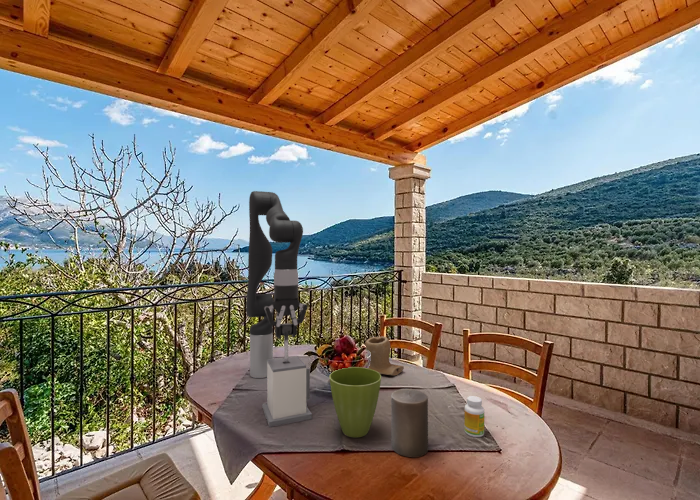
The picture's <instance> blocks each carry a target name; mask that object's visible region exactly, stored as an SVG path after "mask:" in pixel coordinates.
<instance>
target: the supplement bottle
mask: <svg viewBox="0 0 700 500" xmlns="http://www.w3.org/2000/svg"><path fill="white" fill-rule="evenodd" d="M463 411H464V412H463V413H464V418H463V421H464V422H463V423H464V425H463V426H464V432H465V434H466V435H468V436H470V437H474V438H481V437H483V436H484V435H485V408H484V407H483V401H482V398H481V397H479V396H476V395H469V396H467V398H466V404H465V405H464V410H463Z"/></svg>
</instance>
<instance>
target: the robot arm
mask: <svg viewBox="0 0 700 500" xmlns="http://www.w3.org/2000/svg"><path fill="white" fill-rule="evenodd" d="M248 206H249V207H248V208H249V209H248V211H249V212H248V215H249V242H248V259H247V260H248V262H247V263H248V267H247V268H248V270H247V271H248V277H247V278H248V279H247V290H246V291H247V292H246V301H245V312H246V315H247V317H249V318H261V317H263V319H261V321H259V322H256V323H255V324H252V325H251V326H250V328H249V376H250V377H251V378H254V379H255V378H256V379H262V378H263V379H264V378H267V360H269V359H274V335H275V337H276V338H277V339H278V340H280V339H281V338H282V335H281V327H280V324H282V320H283V317H285V316H289V317H290V319H291V324H293V334H292V335H291V337H292V338H295V337H296V336H297V335H298V325H300V324H302V323H304V319H305V316H306V313H307V310H308V304H306V303H301V302H300V300H299V273H298V255H299V250H300V246H301V242H302V239H303V238H302V237H303V234H304V228H303V225H302V223H301V222H300V221H298V220H291V219H290V217H289V216H288V215H287V213H286V212H285V210H284V209H283V206H282V203H281V200H280V197H279V196H278V194H277V193H276V192H273V191H260V190H253V191H251V193H250V194H249V199H248ZM259 216H265V220H266V222H267V225H268V226H269V229H268V235H269V238H267V236H266V234H265V233H264V231H263V228H262V227H261V224H260V220H259ZM269 239H270V240H271V241H273V242H274V243H284V244H286V243H289V246H288V247H287V248H285V249H281V250H277V251H275V254H274V275H273V295H272V294H271V293H264V294H263V293H260V294H259V293H258V294H257V290H258V287H259V285H260V283H261V282H262V280H263V279H264V277H265V276H266V275H267V273H268V272H269V271H270V268H271V267H272V265H273V264H272V263H273V247H272V244H271V242H270V240H269ZM298 309H299V313H298V317H297V316H296V311H297V310H298ZM274 310H275V311H276V317H275V320H274ZM274 327H275V329H274ZM274 332H275V334H274ZM273 334H274V335H273Z"/></svg>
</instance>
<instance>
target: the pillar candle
mask: <svg viewBox="0 0 700 500" xmlns="http://www.w3.org/2000/svg"><path fill="white" fill-rule="evenodd" d="M390 397H391V398H390V399H391V400H390V402H391V405H390V406H391V411H390V412H391V413H390V414H391V418H390V419H391V423H390V424H391V432H390V433H391V440H390V441H391V442H390V443H391V449H392V450H393V451H394V452H395V453H396V454H398V455H400V456H403V457H409V458H420V457H422V456H425V455H426V454H427V453H428V451H429V400H428V399H429V397H428V395H427V393H425V392H423V391H421V390H418V389H413V388H400V389H398V390H397V389H396V390H395V391H392V393H391V396H390Z"/></svg>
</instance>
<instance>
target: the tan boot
mask: <svg viewBox="0 0 700 500" xmlns="http://www.w3.org/2000/svg"><path fill="white" fill-rule="evenodd" d="M364 344H365V346H366V347H367V349H368V350H369V351H370V352H371V361H370V360H369V364H370V366H369V368H368V369H372V370H375V371H377V372H378V373H380V375H385V376H386V375H387V376H398V375H400V374H401V373H402V372H403V371H404V365H400V364H399V365H398V364H394V363H391V362H390V356H391V355H390V354H391V342H390V340H389V338H388V337H386V336H383V335H382V336H379V337H378V336H372V337H370V338H368V339H366V341H365V342H364ZM366 347H365V348H366Z"/></svg>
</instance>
